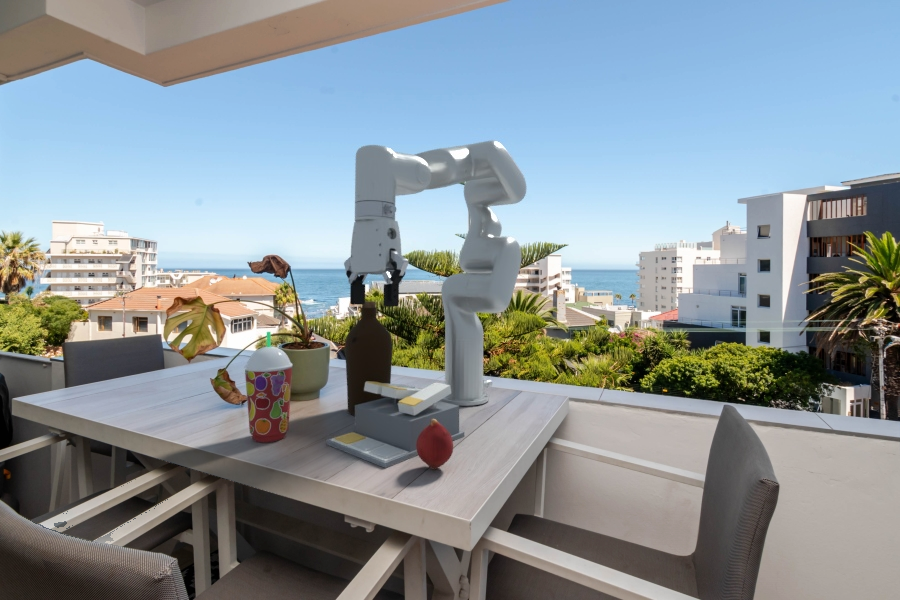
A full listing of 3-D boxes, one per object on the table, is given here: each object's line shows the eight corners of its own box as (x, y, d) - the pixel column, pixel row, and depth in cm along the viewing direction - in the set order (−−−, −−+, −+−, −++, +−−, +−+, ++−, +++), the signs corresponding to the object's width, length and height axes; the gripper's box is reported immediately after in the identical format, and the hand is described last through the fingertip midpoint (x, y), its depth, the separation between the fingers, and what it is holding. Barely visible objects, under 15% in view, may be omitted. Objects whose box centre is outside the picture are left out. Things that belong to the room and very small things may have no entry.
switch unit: (406, 419, 98) (406, 385, 98) (464, 436, 88) (464, 398, 87) (326, 444, 83) (326, 403, 83) (385, 468, 73) (385, 422, 72)
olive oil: (389, 417, 99) (390, 302, 98) (340, 417, 99) (340, 302, 98) (394, 404, 110) (394, 300, 109) (349, 404, 110) (349, 300, 109)
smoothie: (278, 427, 92) (277, 328, 91) (301, 436, 87) (301, 331, 86) (236, 438, 86) (235, 332, 85) (259, 449, 80) (258, 335, 80)
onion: (442, 459, 76) (443, 411, 76) (459, 471, 71) (460, 421, 71) (410, 465, 74) (410, 416, 73) (426, 479, 69) (426, 426, 68)
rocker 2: (417, 401, 92) (419, 387, 92) (431, 404, 89) (433, 390, 90) (380, 400, 84) (382, 385, 85) (394, 404, 82) (396, 388, 82)
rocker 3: (436, 394, 89) (435, 381, 88) (451, 398, 86) (450, 384, 86) (400, 416, 81) (397, 401, 81) (415, 420, 79) (412, 405, 78)
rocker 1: (400, 396, 95) (402, 383, 95) (413, 400, 93) (415, 386, 93) (363, 395, 88) (365, 381, 88) (376, 399, 85) (378, 384, 85)
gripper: (422, 212, 83) (420, 306, 84) (361, 220, 95) (360, 303, 95) (391, 206, 78) (389, 307, 78) (331, 215, 89) (330, 303, 89)
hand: (373, 305), depth 87 cm, fingers open, 9 cm apart
